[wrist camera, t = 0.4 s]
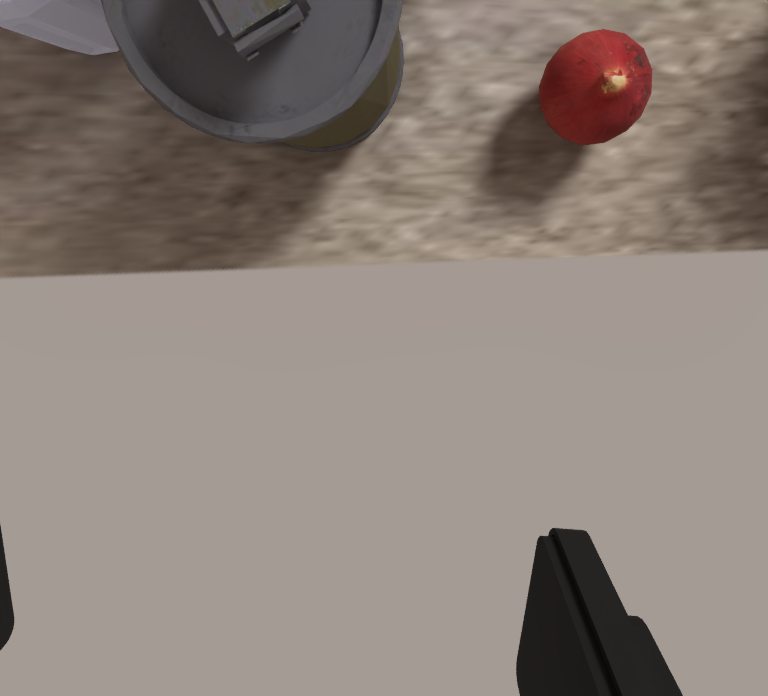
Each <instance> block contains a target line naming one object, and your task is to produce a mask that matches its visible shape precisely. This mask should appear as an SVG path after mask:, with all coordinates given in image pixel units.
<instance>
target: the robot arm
mask: <svg viewBox="0 0 768 696" xmlns="http://www.w3.org/2000/svg"><path fill="white" fill-rule="evenodd" d="M13 626H14V613H13V607H12V600H11V593H10V587H9V580H8V573H7V566H6V560H5V553H4V546H3V539H2V533H1V526H0V650H1V649H2V648H3V647H4V645H5V644H6V643H7V641H8V640H9V638H10V636H11V633H12V630H13ZM516 671H517V672H516V674H517V682H518V688H519V693H520V696H683V695H682V693H681V691H680V689H679V687H678V685H677V683H676V681H675V679H674V677H673V676H672V674H671V672H670V670H669V668H668V666H667V664H666V662H665V660H664V658H663V656H662V654H661V652H660V650H659V648H658V646H657V644H656V642H655V640H654V639H653V637H652V635H651V633H650V631H649V629H648V627H647V625H646V624H645V623H644V621H643V620H642V619H641V618H639V617H638V616H628V615H627V613H626V611H625V609H624V607H623V604H622V602H621V600H620V598H619V596H618V594H617V592H616V590H615V588H614V586H613V584H612V582H611V580H610V577H609V575H608V573H607V571H606V569H605V567H604V565H603V563H602V561H601V559H600V557H599V555H598V553H597V551H596V548H595V546H594V544H593V542H592V540H591V538H590V536H589V534H588V533H587V532H586V531H584V530H573V529H559V528H552V529H551V530H550V532H549V535H548V536H540V537H539V538H538V541H537V546H536V551H535V557H534V563H533V569H532V574H531V580H530V586H529V592H528V598H527V603H526V610H525V615H524V621H523V627H522V632H521V638H520V644H519V650H518V656H517V666H516Z"/></svg>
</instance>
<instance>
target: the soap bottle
mask: <svg viewBox="0 0 768 696" xmlns="http://www.w3.org/2000/svg"><path fill="white" fill-rule="evenodd" d="M0 27H2V28H5V29H8V30H11V31H14V32H17V33H20V34H23V35H26V36H29V37H32V38H35V39H38V40H41V41H44V42H47V43H50V44H53V45H55V46H58V47H61V48H64V49H68V50H72V51H76V52H81V53H85V54H89V55H98V54H104V53H111V52H117V51H119V48H118V46H117V44H116V42H115V39H114V37H113V35H112V33H111V31H110V28H109V26H108V24H107V21H106V17H105V14H104V10H103V7H102V3H101V0H0Z"/></svg>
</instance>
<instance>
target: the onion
mask: <svg viewBox="0 0 768 696" xmlns="http://www.w3.org/2000/svg"><path fill="white" fill-rule="evenodd" d="M651 87H652V69H651V66H650V63H649V61H648V58H647V56H646V53H645V50H644V48H642V47H641V46H640V45H639V44H637V43H636V42H635V41H634V40H632V39H631V38H630V37H629V36H627V35H626V34H624V33H619V32H615V31H610V30H605V29H602V30H597V31H591V32H586V33H582V34H581V35H579V36H577V37H576V38H574V39H572V40H571V41H569V42H568V43H566V44H564V45H563V46H561V47H560V48H559V50H558V51H557V52H556V53H555V55H554V56H553V57H552V58H551V60H550V61H549V62H548V63H547V66H546V68H545V71H544V74H543V77H542V80H541V83H540V85H539V96H540V108H541V110H542V112H543V114H544V116H545V119H546V121H547V123H548V125H549V126H551V127H552V128H553V129H554V130H555V131H556V132H557V133H558V134H559V135H560V136H561V137H563V138H564V139H566V140H569V141H572V142H575V143H578V144H581V145H589V144H597V143H604V142H607V141H609V140H611V139H612V138H614V137H616V136H618V135H620V134H622V133H623V132H625V131H627V130H628V129H629V128H630V127H631V126H632V125H633V124H634V123H635V122H636V121H637V119H638V118H639V117H640V116H641V115H642V113H643V111H644V108H645V106H646V104H647V102H648V100H649V97H650V95H651Z"/></svg>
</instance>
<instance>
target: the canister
mask: <svg viewBox="0 0 768 696" xmlns="http://www.w3.org/2000/svg"><path fill="white" fill-rule="evenodd" d="M101 3H102V7H103V10H104V14H105V17H106V21H107V24H108V26H109V28H110V31H111V33H112V35H113V37H114V39H115V42H116V44H117V46H118V48H119V50H120V52H121V54H122V56H123V59H124V61H125V63H126V65H127V67H128V69H129V70H130V71H131V73H132V74H133V75H134V76H135V78H136V79H137V80H138V81H139V83H140V84H141V85H142V86H143V88H144V89H145V90H146V91H147V92H148V93H149V94H150V95H151V96H152V97H153V98H154V99H155V100H156V101H157V102H158V103H159V104H160V105H161V106H162V107H163V108H164V109H166V110H167V111H169V112H170V113H172V114H173V115H175V116H176V117H178V118H179V119H181V120H182V121H184V122H185V123H187V124H188V125H190V126H191V127H193V128H196V129H198V130H200V131H203V132H205V133H207V134H210V135H212V136H216V137H219V138H222V139H225V140H229V141H235V142H242V143H257V144H270V143H278V142H280V143H285V144H287V145H289V146H292V147H294V148H298V149H302V150H306V151H314V152H324V151H333V150H339V149H342V148H345V147H348V146H350V145H352V144H354V143H356V142H358V141H360V140H362V139H363V138H365V137H366V136H367V135H369V134H370V133H371V132H373V131H374V130H375V129H376V128H377V127H378V126H379V125H380V123H381V122H382V121H383V119H384V118H385V117H386V116H387V114H388V113H389V111H390V109H391V107H392V106H393V104H394V102H395V100H396V97H397V95H398V92H399V88H400V85H401V80H402V75H403V64H404V60H403V44H402V40H401V36H400V32H399V24H398V23H399V19H400V15H401V9H402V0H101Z"/></svg>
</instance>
